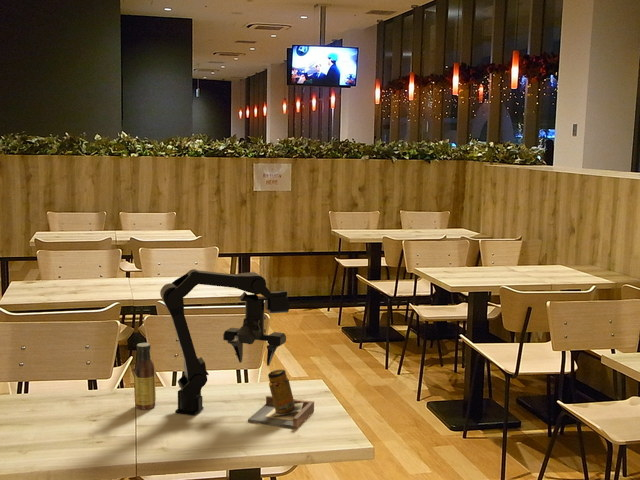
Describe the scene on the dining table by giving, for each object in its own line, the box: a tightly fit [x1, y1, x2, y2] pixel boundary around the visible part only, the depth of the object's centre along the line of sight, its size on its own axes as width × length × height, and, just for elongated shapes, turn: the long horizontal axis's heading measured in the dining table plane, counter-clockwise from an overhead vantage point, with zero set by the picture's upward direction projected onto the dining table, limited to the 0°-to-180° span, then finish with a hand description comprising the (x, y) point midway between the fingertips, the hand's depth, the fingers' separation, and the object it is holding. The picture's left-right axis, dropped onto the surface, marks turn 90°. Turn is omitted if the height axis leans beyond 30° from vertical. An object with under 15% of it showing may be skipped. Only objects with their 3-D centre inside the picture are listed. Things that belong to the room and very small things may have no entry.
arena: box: [247, 395, 315, 430], centre depth 236 cm, size 15×15×3 cm
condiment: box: [268, 368, 303, 416], centre depth 235 cm, size 7×8×12 cm
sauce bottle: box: [133, 342, 157, 410], centre depth 240 cm, size 7×6×20 cm
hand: (254, 363), depth 244 cm, fingers open, 9 cm apart
